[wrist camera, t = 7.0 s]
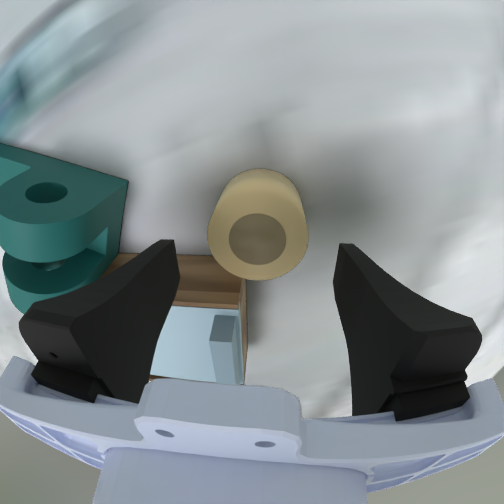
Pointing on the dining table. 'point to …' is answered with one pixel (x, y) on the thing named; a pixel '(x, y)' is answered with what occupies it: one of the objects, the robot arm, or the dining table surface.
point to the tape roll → (258, 226)
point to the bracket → (55, 224)
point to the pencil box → (203, 289)
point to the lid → (200, 345)
